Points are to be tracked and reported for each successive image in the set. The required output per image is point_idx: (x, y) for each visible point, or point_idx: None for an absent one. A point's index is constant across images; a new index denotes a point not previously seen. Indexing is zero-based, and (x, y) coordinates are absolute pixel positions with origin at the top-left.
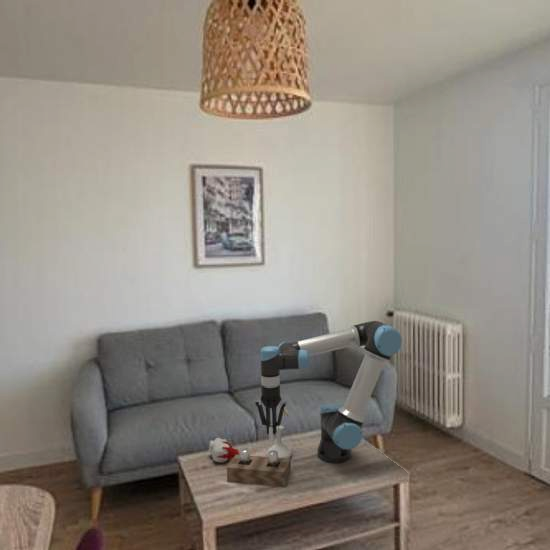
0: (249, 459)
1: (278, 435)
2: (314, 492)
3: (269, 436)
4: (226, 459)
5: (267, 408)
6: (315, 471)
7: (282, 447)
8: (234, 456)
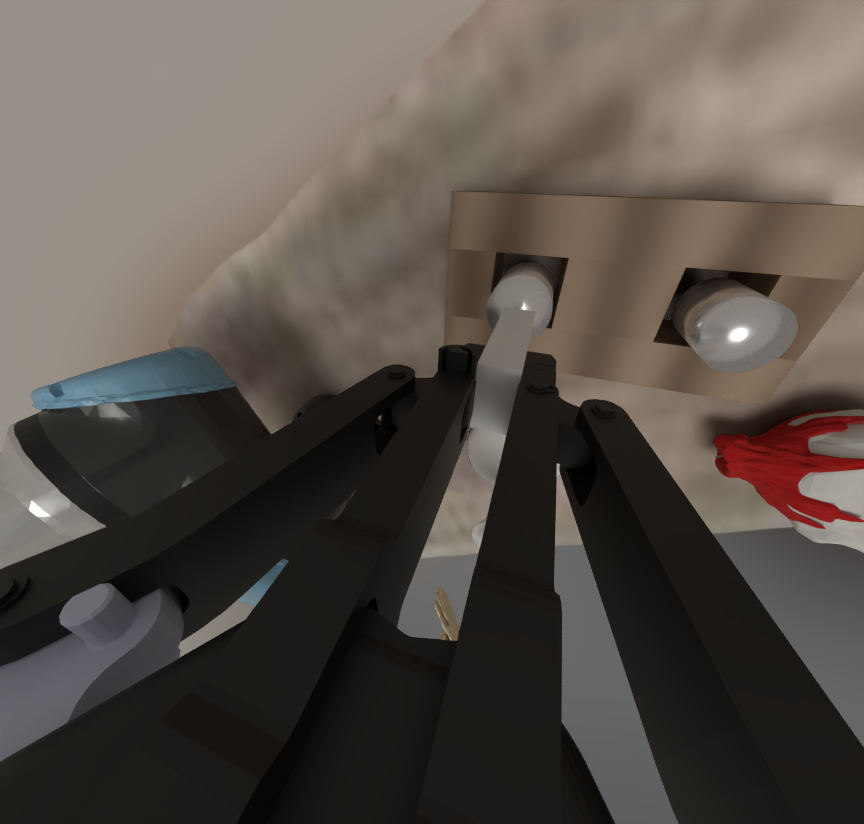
0: (685, 309)
1: None
2: (337, 156)
3: (528, 330)
4: (796, 421)
5: (492, 638)
6: (375, 341)
7: (494, 460)
8: (781, 381)
